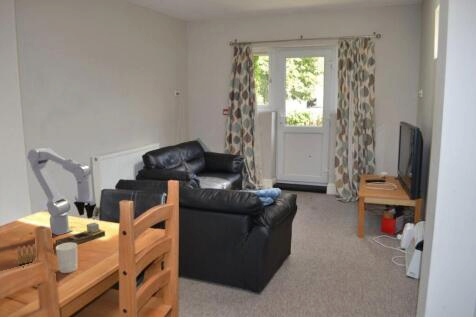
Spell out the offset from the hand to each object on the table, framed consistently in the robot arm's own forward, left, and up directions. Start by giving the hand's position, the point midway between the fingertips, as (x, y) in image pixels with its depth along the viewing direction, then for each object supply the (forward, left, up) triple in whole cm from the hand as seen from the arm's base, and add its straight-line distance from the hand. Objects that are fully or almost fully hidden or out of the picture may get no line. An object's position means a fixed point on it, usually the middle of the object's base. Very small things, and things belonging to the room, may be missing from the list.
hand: (85, 216), depth 201 cm
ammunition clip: (+22, -36, -10) cm, 43 cm away
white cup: (+30, -26, -10) cm, 41 cm away
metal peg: (+4, +1, -10) cm, 10 cm away
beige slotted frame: (+4, -6, -9) cm, 12 cm away
